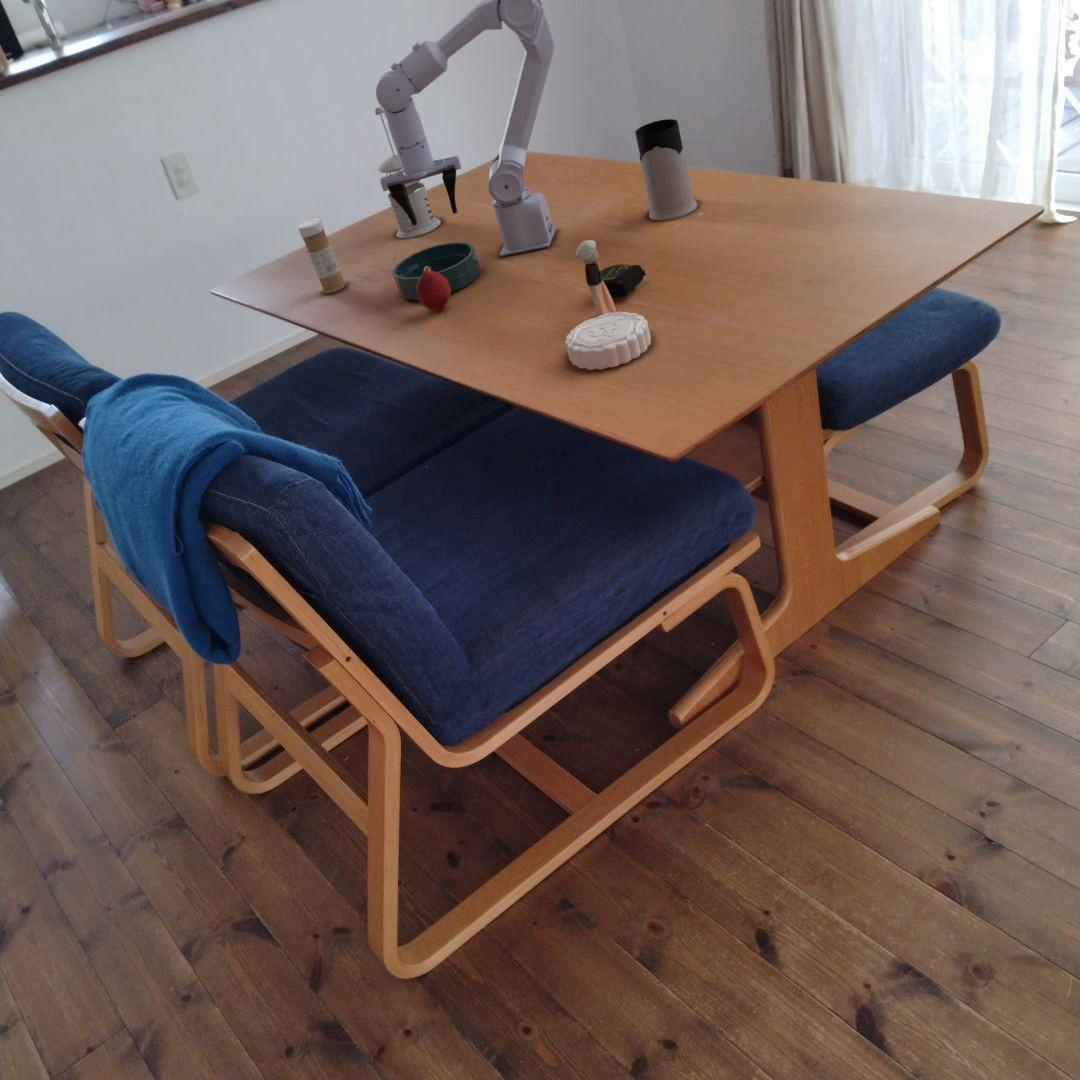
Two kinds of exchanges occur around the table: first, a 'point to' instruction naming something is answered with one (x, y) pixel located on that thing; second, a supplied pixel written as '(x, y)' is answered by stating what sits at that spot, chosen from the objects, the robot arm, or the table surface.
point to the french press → (416, 199)
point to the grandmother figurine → (595, 278)
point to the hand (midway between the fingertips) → (435, 217)
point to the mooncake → (608, 340)
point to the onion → (433, 290)
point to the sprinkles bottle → (321, 255)
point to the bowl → (438, 267)
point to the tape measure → (621, 279)
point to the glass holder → (665, 170)
